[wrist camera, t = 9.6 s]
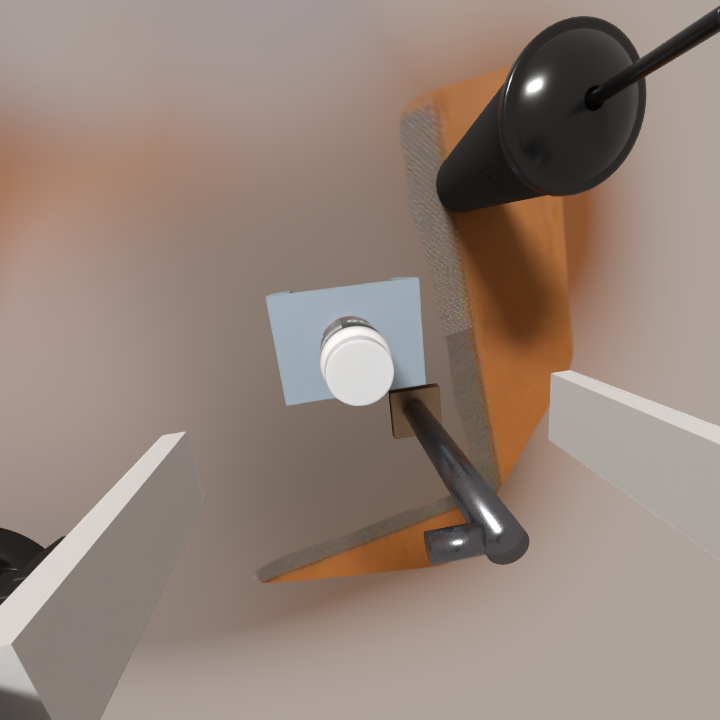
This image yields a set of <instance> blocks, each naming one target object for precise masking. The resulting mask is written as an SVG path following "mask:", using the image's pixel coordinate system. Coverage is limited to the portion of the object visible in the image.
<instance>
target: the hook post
mask: <svg viewBox="0 0 720 720" xmlns="http://www.w3.org/2000/svg"><path fill="white" fill-rule="evenodd" d="M388 392H389V401H390V412H391V421H392V432H393V436H394V438H395V439H399V438H405V437H411V436H417V438H418V440H419V441H420V443H421V445H422V446H423V448H424V450H425V451H426V453H427V455H428V457H429V458H430V460H431V462H432V463H433V465H434V467H435V468H436V470H437V472H438V474H439V475H440V477H441V479H442V480H443V482H444V484H445V485H446V487H447V489H448V491H449V492H450V494H451V496H452V497H453V499H454V501H455V503H456V504H457V506H458V508H459V509H460V511H461V513H462V514H463V516H464V518H465V520H466V521H467V523H466V524H461V525H456V526H450V527H445V528H440V529H434V530H429V531H424V541H425V546H426V551H427V554H428V557H429V560H430V563H431V564H432V565H436V564H441V563H446V562H451V561H456V560H462V559H467V558H471V557H477V556H481V555H487V557H488V558H489V560H490V561H492V562H493V563H496V564H501V565H503V564H509V563H513V562H515V561H517V560H518V559H519V558H521V557H522V556H523V555H524V554H525V552H526V551H527V549H528V546H529V536H528V534H527V533H526V531H525V530H524V529H523V528H522V527H521V525H520V524H519V523H518V521H517V520H516V519H515V518H514V516H513V515H512V514H511V513H510V511H509V510H508V509H507V508H506V506H505V505H504V504H503V502H502V501H501V500H500V499H499V497H498V496H497V495H496V494H495V492H494V491H493V490H492V488H491V487H490V486H489V485H488V483H487V482H486V481H485V480H484V478H483V477H482V476H481V475H480V473H479V472H478V471H477V470H476V468H475V467H474V466H473V464H472V463H471V462H470V461H469V459H468V458H467V457H466V456H465V454H464V453H463V452H462V451H461V449H460V448H459V447H458V446H457V444H456V443H455V442H454V441H453V439H452V438H451V437H450V435H449V434H448V433H447V432H446V430H445V429H444V428H443V427H442V425H441V411H440V410H441V408H440V390H439V386H438V385H437V384H436V383H435V384H428V385H421V386H415V387H408V388H402V389H395V390H389V391H388Z"/></svg>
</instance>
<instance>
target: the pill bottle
mask: <svg viewBox="0 0 720 720" xmlns="http://www.w3.org/2000/svg"><path fill="white" fill-rule="evenodd" d="M320 369H321V373H322V376H323V378H324V380H325V382H326V383H327V385H328V387H329V389H330V391H331V393H332V394H333V395H334V396H335V397H336V398H337V399H338V400H340V401H341V402H343V403H346V404H348V405H352V406H365V405H369V404H372V403H374V402H376V401H378V400H379V399H381V398H382V397H383V396H384V395H385V394H386V392H387V391H388V390H389V389H390V387H391V384H392V382H393V378H394V365H393V356H392V351H391V348H390V346H389V344H388V342H387V341H386V339H385V338H384V337H383V336H382V335H381V334H380V333H379V332H378V331H377V330H376V329H375V328H374V327H373V326H372V325H371V324H370V323H369V322H368V321H366V320H365V319H363V318H360V317H357V316H344V317H341V318H338V319H336V320H335V321H333V322H332V323H330V324H329V325H328V327H327V328H326V329H325V331H324V333H323V335H322V338H321V345H320Z"/></svg>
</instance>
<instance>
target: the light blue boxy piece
mask: <svg viewBox="0 0 720 720" xmlns="http://www.w3.org/2000/svg"><path fill="white" fill-rule="evenodd" d="M266 301H267V306H268V312H269V317H270V322H271V327H272V333H273V338H274V343H275V349H276V354H277V359H278V365H279V369H280V375H281V380H282V385H283V391H284V396H285V401H286V405H294V404H301V403H307V402H314V401H320V400H327V399H333V398H336V397H335V396H334V395H333V394H332V393H331V391H330V389H329V387H328V385H327V383H326V382H325V380H324V378H323V376H322V373H321V369H320V345H321V338H322V335H323V333H324V331H325V329H326V328H327V327H328V325H329V324H330V323H332V322H333V321H335V320H336V319H338V318H341V317H344V316H357V317H360V318H363V319H365V320H366V321H368V322H369V323H370V324H371V325H372V326H373V327H374V328H375V329H376V330H377V331H378V332H379V333H380V334H381V335H382V336H383V337H384V338H385V339H386V341H387V342H388V344H389V346H390V348H391V351H392V356H393V365H394V378H393V382H392V384H391V387H390V389H389V390H392V389H399V388H406V387H412V386H419V385H425V384H426V377H425V363H424V347H423V333H422V318H421V303H420V288H419V278H415V277H399V278H391V279H387V281H383V282H375V283H367V284H359V285H352V286H344V287H335V288H327V289H320V290H311V291H303V292H295V293H292V291H287V292H279V293H273V294H271V295H269V296H267V297H266Z"/></svg>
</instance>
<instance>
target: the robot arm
mask: <svg viewBox="0 0 720 720" xmlns="http://www.w3.org/2000/svg"><path fill="white" fill-rule="evenodd" d="M549 440H550V441H552V442H553V443H554V444H556V445H557V446H558V447H560V448H561V449H563V450H564V451H565V452H567V453H568V454H570V455H571V456H572V457H574V458H575V459H577V460H578V461H579V462H581V463H582V464H584V465H585V466H586V467H588V468H589V469H591V470H592V471H594V472H595V473H596V474H598V475H599V476H601V477H602V478H603V479H605V480H606V481H608V482H609V483H611V484H612V485H613V486H615V487H616V488H617V489H619V490H620V491H622V492H623V493H625V494H626V495H627V496H629V497H630V498H631V499H633V500H634V501H636V502H637V503H639V504H640V505H641V506H643V507H644V508H646V509H647V510H648V511H650V512H651V513H653V514H654V515H655V516H657V517H658V518H660V519H661V520H663V521H664V522H665V523H667V524H668V525H670V526H671V527H672V528H674V529H675V530H676V531H678V532H679V533H681V534H682V535H684V536H685V537H687V538H688V539H689V540H691V541H692V542H693V543H695V544H696V545H698V546H699V547H700V548H702V549H703V550H705V551H706V552H707V553H709V554H710V555H712V556H713V557H715V558H716V559H717V560H719V561H720V427H719V426H717V425H714V424H711V423H708V422H706V421H703V420H700V419H698V418H695V417H693V416H690V415H687V414H685V413H682V412H679V411H677V410H674V409H672V408H669V407H666V406H664V405H661V404H658V403H656V402H653V401H650V400H648V399H645V398H642V397H640V396H637V395H634V394H632V393H629V392H627V391H624V390H621V389H619V388H616V387H613V386H611V385H608V384H605V383H602V382H600V381H597V380H595V379H592V378H589V377H587V376H584V375H582V374H579V373H576V372H573V371H571V370H568V371H562V372H556V373H551V389H550V416H549ZM205 502H206V500H205V497H204V493H203V490H202V486H201V483H200V479H199V475H198V472H197V468H196V465H195V461H194V458H193V454H192V451H191V447H190V443H189V440H188V437H187V433H186V432H181V433H175V434H169V435H163V436H162V437H161V438H159V440H158V441H157V442H156V443H155V444H154V445H153V446H152V447H151V448H150V449H149V450H148V451H147V452H146V453H145V454H144V455H143V456H142V457H141V458H140V459H139V461H138V462H137V463H136V464H135V465H134V466H133V467H132V468H131V469H130V470H129V471H128V472H127V473H126V474H125V475H124V476H123V477H122V479H120V480H119V482H118V483H117V484H116V485H115V486H114V487H113V488H112V489H111V490H110V491H109V492H108V493H107V494H106V495H105V496H104V497H103V498H102V499H101V500H100V501H99V502H98V504H97V505H96V506H95V507H94V508H93V509H92V510H91V511H90V512H89V513H88V514H87V515H86V516H85V517H84V518H83V519H82V520H81V521H80V522H79V524H78V525H77V526H76V527H75V528H74V529H73V530H72V531H71V532H70V533H69V534H68V535H67V536H64V537H61V538H60V539H58V540H57V541H55V542H54V543H53V544H51V545H50V546H49V547H47V548H46V549H44V548H43V547H42V546H40V545H39V544H37V543H36V542H34V541H33V540H31V539H29V538H27V537H25V536H23V535H21V534H19V533H16V532H13V531H10V530H7V529H3V528H0V720H100V718H101V716H102V714H103V712H104V710H105V708H106V706H107V704H108V702H109V699H110V697H111V696H112V693H113V691H114V689H115V687H116V685H117V683H118V680H119V679H120V677H121V675H122V673H123V671H124V669H125V667H126V665H127V662H128V661H129V658H130V656H131V654H132V652H133V650H134V648H135V646H136V644H137V642H138V640H139V638H140V636H141V633H142V632H143V630H144V627H145V625H146V623H147V621H148V619H149V617H150V615H151V613H152V611H153V609H154V607H155V605H156V603H157V601H158V599H159V597H160V595H161V592H162V590H163V588H164V586H165V584H166V582H167V580H168V578H169V576H170V574H171V572H172V570H173V568H174V566H175V564H176V561H177V560H178V558H179V555H180V553H181V551H182V549H183V547H184V545H185V543H186V541H187V539H188V537H189V535H190V533H191V531H192V529H193V526H194V525H195V522H196V520H197V518H198V516H199V514H200V512H201V510H202V508H203V506H204V504H205Z"/></svg>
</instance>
